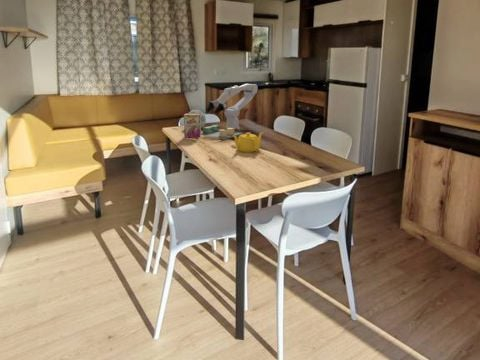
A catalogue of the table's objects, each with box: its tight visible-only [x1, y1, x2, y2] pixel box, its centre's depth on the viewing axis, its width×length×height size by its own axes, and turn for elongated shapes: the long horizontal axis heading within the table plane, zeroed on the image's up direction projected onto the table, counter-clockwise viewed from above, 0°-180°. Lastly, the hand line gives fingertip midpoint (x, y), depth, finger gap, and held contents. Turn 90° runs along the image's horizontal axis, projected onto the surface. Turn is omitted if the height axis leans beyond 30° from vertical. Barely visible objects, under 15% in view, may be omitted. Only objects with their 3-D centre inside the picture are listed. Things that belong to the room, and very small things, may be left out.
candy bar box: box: [183, 113, 202, 139], centre depth 271 cm, size 11×5×16 cm, turn 84°
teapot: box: [233, 132, 264, 153], centre depth 239 cm, size 22×16×11 cm
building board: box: [201, 127, 245, 141], centre depth 281 cm, size 24×26×5 cm
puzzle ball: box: [187, 109, 207, 129], centre depth 298 cm, size 15×15×15 cm
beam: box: [202, 124, 220, 134], centre depth 285 cm, size 14×4×4 cm, turn 142°
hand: (211, 111), depth 279 cm, fingers open, 7 cm apart
